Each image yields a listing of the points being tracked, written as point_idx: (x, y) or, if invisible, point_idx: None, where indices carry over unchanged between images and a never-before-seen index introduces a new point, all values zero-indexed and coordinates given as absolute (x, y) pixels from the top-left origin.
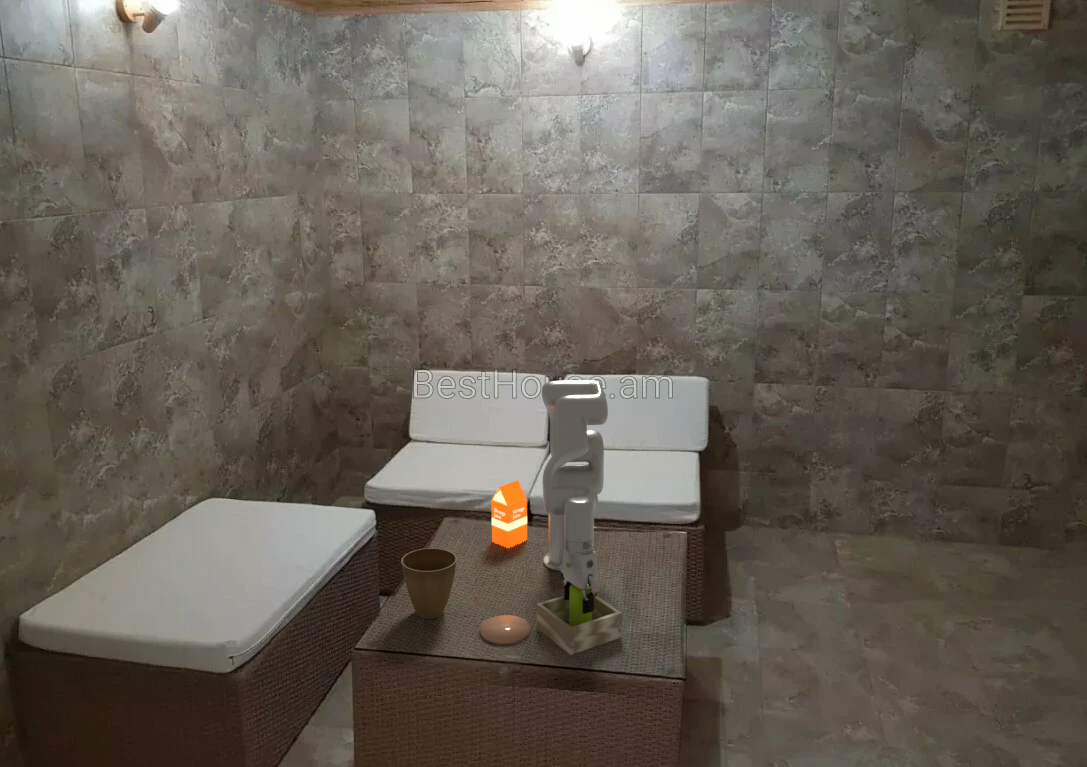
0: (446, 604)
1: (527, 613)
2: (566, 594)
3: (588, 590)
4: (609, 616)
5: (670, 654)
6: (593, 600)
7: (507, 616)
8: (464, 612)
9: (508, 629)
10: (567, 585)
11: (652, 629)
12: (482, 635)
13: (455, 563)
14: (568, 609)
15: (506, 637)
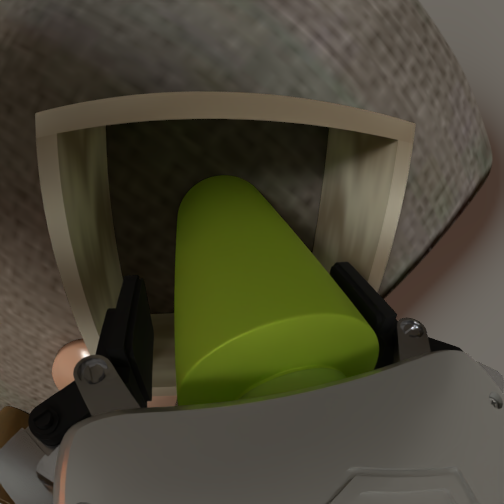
0: (21, 424)
1: (33, 305)
2: (152, 359)
3: (374, 365)
4: (400, 198)
5: (462, 92)
6: (381, 301)
7: (59, 368)
8: (21, 393)
9: None
10: (140, 402)
11: (362, 3)
12: None
13: (12, 501)
14: (98, 229)
15: (162, 404)
